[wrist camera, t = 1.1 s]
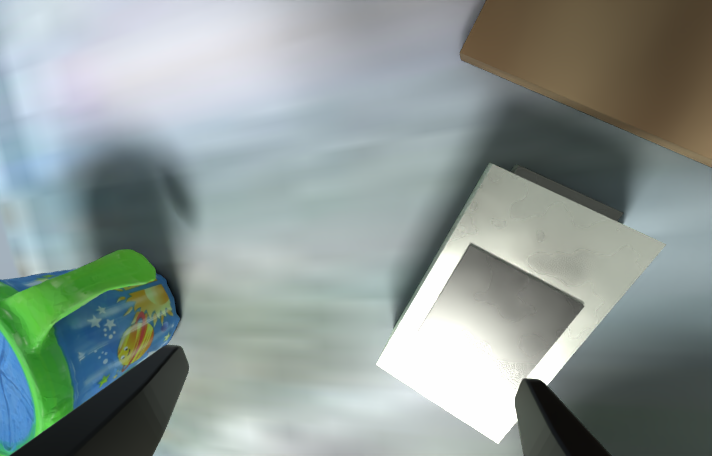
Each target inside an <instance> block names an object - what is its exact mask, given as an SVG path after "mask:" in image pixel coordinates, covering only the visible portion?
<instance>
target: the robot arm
mask: <svg viewBox="0 0 712 456" xmlns="http://www.w3.org/2000/svg"><path fill="white" fill-rule="evenodd" d="M188 371H189V364H188V361H187V359H186V356H185V353H184V351H183V348H182V347H181V346H177V345H165V346H163V347H161V348H160V349H158V350H157V351H156V352H154V353H153V354H151V355H150V356H149V357H147V358H146V359H144V360H143V361H141V362H140V363H139V364H137V365H136V366H134V367H133V368H132V369H130V370H129V371H127V372H126V373H125V374H123V375H122V376H120V377H119V378H118V379H116V380H115V381H113V382H112V383H111V384H109V385H108V386H106V387H105V388H104V389H102V390H101V391H99V392H98V393H96V394H95V395H94V396H92V397H91V398H89V399H88V400H87V401H85V402H84V403H82V404H81V405H80V406H78V407H77V408H75V409H74V410H73V411H71V412H70V413H68V414H67V415H66V416H64V417H63V418H61V419H60V420H58V421H57V422H56V423H54V424H53V425H51V426H50V427H49V428H47V429H46V430H44V431H43V432H42V433H40V434H39V435H37V436H36V437H35V438H33V439H32V440H30V441H29V442H28V443H26V444H25V445H23V446H22V447H21V448H19V449H18V450H16V451H15V452H13V453H12V454H11V455H9V456H153V454H154V452H155V450H156V448H157V446H158V444H159V442H160V440H161V438H162V436H163V434H164V432H165V429H166V427H167V425H168V422H169V420H170V417H171V415H172V412H173V410H174V407H175V405H176V402H177V400H178V397H179V395H180V392H181V390H182V387H183V385H184V382H185V380H186V377H187V374H188ZM514 406H515V412H516V417H517V422H518V428H519V433H520V438H521V444H522V449H523V454H524V456H612V455H611V454H610V453H609V452H608V451H607V450H606V449H605V448H604V447H603V446H602V445H601V444H600V442H599V441H598V440H597V439H596V438H595V437H594V436H593V435H592V434H591V433H590V432H589V431H588V429H587V428H586V427H585V426H584V425H583V424H582V423H581V422H580V421H579V420H578V419H577V418H576V416H575V415H574V414H573V413H572V412H571V411H570V410H569V409H568V408H567V407H566V406H565V404H564V403H563V402H562V401H561V400H560V399H559V398H558V397H557V396H556V395H555V394H554V393H553V391H552V390H551V389H550V388H549V387H548V386H547V385H546V384H545V383H544V382H543V381H542V380H540V379H535V378H524V379H522V381H521V383H520V385H519V387H518V390H517V392H516V394H515V397H514Z"/></svg>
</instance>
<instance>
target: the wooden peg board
mask: <svg viewBox="0 0 712 456" xmlns="http://www.w3.org/2000/svg"><path fill="white" fill-rule="evenodd" d="M460 57H461V60H462V61H465V62H467V63H469V64H472V65H474V66H476V67H479V68H481V69H483V70H486V71H488V72H490V73H493V74H495V75H497V76H500V77H502V78H504V79H507V80H509V81H511V82H514V83H516V84H518V85H521V86H523V87H525V88H528V89H530V90H532V91H535V92H537V93H539V94H542V95H544V96H546V97H549V98H551V99H553V100H556V101H558V102H560V103H563V104H565V105H567V106H570V107H572V108H574V109H577V110H579V111H581V112H583V113H586V114H588V115H590V116H593V117H595V118H597V119H600V120H602V121H604V122H607V123H609V124H611V125H614V126H616V127H618V128H621V129H623V130H625V131H628V132H630V133H632V134H635V135H637V136H639V137H642V138H644V139H646V140H649V141H651V142H653V143H656V144H658V145H660V146H663V147H665V148H667V149H670V150H672V151H674V152H677V153H679V154H681V155H684V156H686V157H688V158H691V159H693V160H695V161H698V162H700V163H702V164H705V165H707V166H709V167H712V0H486V2H485V4H484V6H483V8H482V10H481V12H480V14H479V16H478V18H477V20H476V22H475V24H474V26H473V28H472V29H471V31H470V33H469V35H468V37H467V39H466V41H465V43H464V45H463V47H462V49H461V51H460Z"/></svg>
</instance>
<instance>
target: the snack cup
mask: <svg viewBox="0 0 712 456" xmlns="http://www.w3.org/2000/svg"><path fill="white" fill-rule="evenodd" d="M179 321H180V318H179V316H178V315H177V313H176V308H175V301H174V297H173V295H172V293H171V291H170V289H169V287H168V285H167V280H166V279H165V278H164V277H163V276H161V275H159V274H157V273H156V270H155V268H154V267H153V266H152V264H151V263H149V262H148V260H147V259H146V258H145V257H144V256H143V255H142V254H140V253H138V252H136V251H134V250H130V249H124V250H117V251H115V252H112V253H110V254H107V255H106V256H104V257H102V258H99V259H97V260H96V261H94V262H91V263H89V264H87V265H84V266H82V267H80V268H78V269H72V270H62V271H55V272H52V273H41V274H36V275H31V276H27V277H21V278H13V279H4V280H0V456H9V455H11V454H12V453H13V452H15V451H16V450H18V449H19V448H21V447H22V446H23V445H25V444H26V443H28V442H29V441H30V440H32V439H33V438H35V437H36V436H37V435H39V434H40V433H42V432H43V431H44V430H46V429H47V428H49V427H50V426H51V425H53V424H54V423H56V422H57V421H58V420H60V419H61V418H63V417H64V416H66V415H67V414H68V413H70V412H71V411H73V410H74V409H75V408H77V407H78V406H80V405H81V404H82V403H84V402H85V401H87V400H88V399H89V398H91V397H92V396H94V395H95V394H96V393H98V392H99V391H101V390H102V389H104V388H105V387H106V386H108V385H109V384H111V383H112V382H113V381H115V380H116V379H118V378H119V377H120V376H122V375H123V374H125V373H126V372H127V371H129V370H130V369H132V368H133V367H134V366H136V365H137V364H139V363H140V362H141V361H143V360H144V359H146V358H147V357H149V356H150V355H151V354H153V353H154V352H156V351H157V350H158V349H160V348H161V347H163V346H165V345H167V344H168V343H169V341H170V340H171V338H172V336H173V333H174V331H175V329H176V327H177V325H178V323H179Z"/></svg>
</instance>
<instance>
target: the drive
mask: <svg viewBox="0 0 712 456" xmlns="http://www.w3.org/2000/svg"><path fill="white" fill-rule="evenodd" d="M622 214H623V213H622V212H620V211H618V210H616V209H614V208H611V207H609V206H607V205H605V204H603V203H600V202H598V201H596V200H594V199H592V198H590V197H587V196H585V195H583V194H581V193H579V192H576V191H574V190H572V189H570V188H568V187H565V186H563V185H561V184H559V183H557V182H555V181H552V180H550V179H548V178H546V177H544V176H541V175H539V174H537V173H535V172H533V171H530V170H528V169H526V168H524V167H522V166H520V165H516V164H515V165H514V167H513V168H512V170H511V172H509V171H507V170H505V169H503V168H501V167H498V166H496V165H494V164H492V163H490V162H489V164H488V166H487V168H486V169H485V171H484V173H483V174H482V176H481V178H480V180H479V181H478V183H477V185H476V187H475V188H474V190H473V192H472V194H471V195H470V197H469V199H468V200H467V202H466V204H465V206H464V207H463V209H462V211H461V213H460V214H459V216H458V218H457V220H456V221H455V223H454V225H453V226H452V228H451V230H450V232H449V233H448V235H447V237H446V239H445V240H444V242H443V244H442V246H441V247H440V249H439V251H438V252H437V254H436V256H435V258H434V259H433V261H432V263H431V265H430V266H429V268H428V270H427V272H426V273H425V275H424V277H423V278H422V280H421V282H420V284H419V285H418V287H417V289H416V291H415V292H414V294H413V296H412V298H411V299H410V301H409V303H408V304H407V306H406V308H405V310H404V311H403V313H402V315H401V317H400V318H399V320H398V322H397V324H396V325H395V327H394V329H393V331H392V333H391V335H390V337H389V339H388V341H387V343H386V345H385V348H384V350H383V352H382V354H381V356H380V358H379V360H378V362H377V365H378V366H380V367H381V368H383V369H384V370H386V371H387V372H389V373H390V374H392V375H394V376H395V377H397V378H398V379H400V380H401V381H403V382H404V383H406V384H407V385H409V386H410V387H412V388H414V389H415V390H417V391H418V392H420V393H421V394H423V395H424V396H426V397H427V398H429V399H430V400H432V401H434V402H435V403H437V404H438V405H440V406H441V407H443V408H444V409H446V410H447V411H449V412H451V413H452V414H454V415H455V416H457V417H458V418H460V419H461V420H463V421H464V422H466V423H467V424H469V425H471V426H472V427H474V428H475V429H477V430H478V431H480V432H481V433H483V434H484V435H486V436H487V437H489V438H491V439H492V440H494V441H495V442H497V443H498V442H499V441H500V440H501V439H502V438H503V436H504V435H505V434H506V433H507V432H508V431H509V429H510V428H511V427H512V426H513V425H514V424H515V422H516V421H517V417H516V412H515V406H514V397H515V394H516V392H517V390H518V387H519V385H520V383H521V381H522V379H524V378H535V379H540V380H542V381H543V382H544V383H545V384H546V385H548V383H549V382H550V381H551V380H552V379H553V378H554V376H555V375H556V374H557V373H558V372H559V370H560V369H561V368H562V367H563V366H564V365H565V363H566V362H567V361H568V360H569V359H570V357H571V356H572V355H573V354H574V353H575V352H576V350H577V349H578V348H579V347H580V346H581V344H582V343H583V342H584V341H585V340H586V339H587V337H588V336H589V335H590V334H591V333H592V331H593V330H594V329H595V328H596V327H597V326H598V324H599V323H600V322H601V321H602V320H603V319H604V317H605V316H606V315H607V314H608V313H609V311H610V310H611V309H612V308H613V307H614V306H615V304H616V303H617V302H618V301H619V300H620V298H621V297H622V296H623V295H624V294H625V293H626V291H627V290H628V289H629V288H630V287H631V285H632V284H633V283H634V282H635V281H636V280H637V278H638V277H639V276H640V275H641V274H642V273H643V271H644V270H645V269H646V268H647V267H648V265H649V264H650V263H651V262H652V261H653V260H654V258H655V257H656V256H657V255H658V254H659V252H660V251H661V250H662V249H663V248H664V247H665V245H666V244H664V243H662V242H660V241H658V240H656V239H653V238H651V237H649V236H647V235H645V234H643V233H641V232H638V231H636V230H634V229H632V228H630V227H628V226H625V225H623V224H621V223H619V222H617V221H618V220H619V218H620V217H621V216H622Z"/></svg>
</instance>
